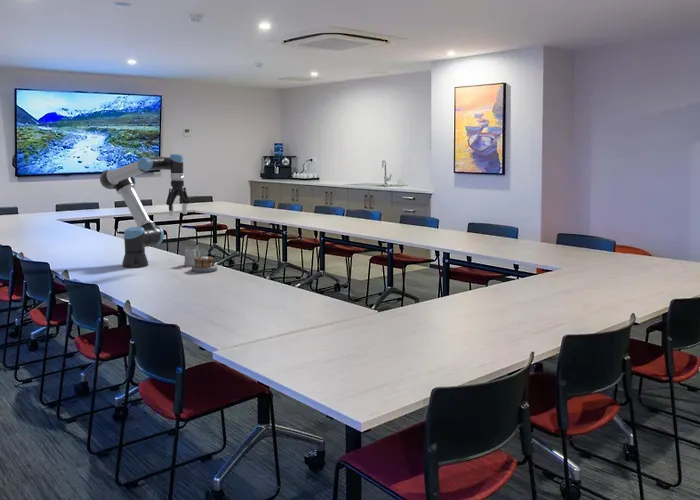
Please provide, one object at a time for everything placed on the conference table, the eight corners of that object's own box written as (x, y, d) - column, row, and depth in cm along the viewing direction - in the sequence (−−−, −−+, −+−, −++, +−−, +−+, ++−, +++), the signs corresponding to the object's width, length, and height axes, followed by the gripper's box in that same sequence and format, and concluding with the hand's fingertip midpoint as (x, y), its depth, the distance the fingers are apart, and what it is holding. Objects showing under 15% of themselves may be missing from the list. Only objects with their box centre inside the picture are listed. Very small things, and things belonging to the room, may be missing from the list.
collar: (191, 267, 372) (191, 258, 372) (201, 263, 382) (201, 255, 382) (207, 268, 369) (207, 260, 368) (216, 265, 379) (216, 257, 378)
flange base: (186, 271, 372) (186, 258, 370) (200, 267, 386) (200, 254, 384) (208, 273, 367) (208, 260, 365) (221, 269, 381) (221, 256, 379)
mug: (181, 265, 390) (181, 246, 388) (195, 262, 399) (195, 244, 397) (190, 266, 386) (189, 247, 384) (204, 264, 395) (203, 245, 393)
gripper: (170, 181, 366) (171, 217, 370) (194, 179, 389) (195, 213, 393) (159, 180, 369) (160, 216, 372) (183, 178, 392) (184, 212, 395)
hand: (178, 215), depth 382 cm, fingers open, 13 cm apart
